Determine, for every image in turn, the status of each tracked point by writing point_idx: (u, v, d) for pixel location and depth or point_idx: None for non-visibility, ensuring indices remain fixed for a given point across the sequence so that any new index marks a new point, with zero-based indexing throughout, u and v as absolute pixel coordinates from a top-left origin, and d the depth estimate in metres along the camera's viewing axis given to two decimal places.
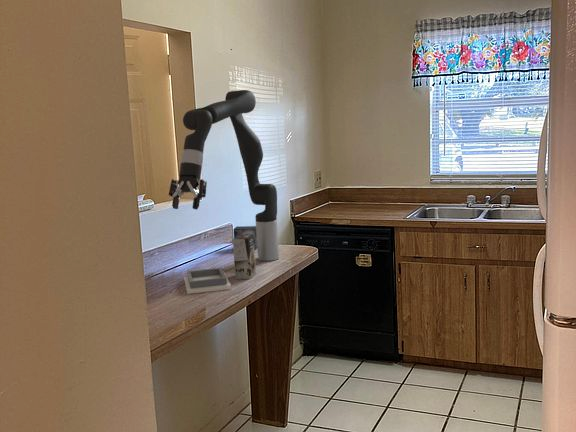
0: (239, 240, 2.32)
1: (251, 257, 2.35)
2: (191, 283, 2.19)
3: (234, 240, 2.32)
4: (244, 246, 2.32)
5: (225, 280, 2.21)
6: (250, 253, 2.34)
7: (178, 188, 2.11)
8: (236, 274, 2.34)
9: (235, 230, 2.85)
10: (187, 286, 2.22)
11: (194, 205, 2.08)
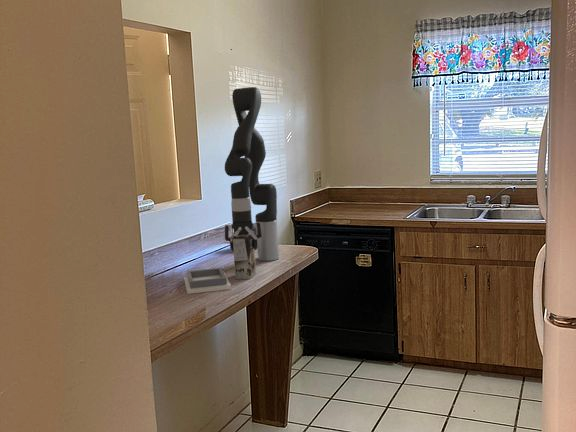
0: (239, 240, 2.32)
1: (251, 257, 2.35)
2: (191, 283, 2.19)
3: (234, 240, 2.32)
4: (244, 246, 2.32)
5: (225, 280, 2.21)
6: (250, 253, 2.34)
7: (236, 233, 2.33)
8: (236, 274, 2.34)
9: None
10: (187, 286, 2.22)
11: (255, 246, 2.36)
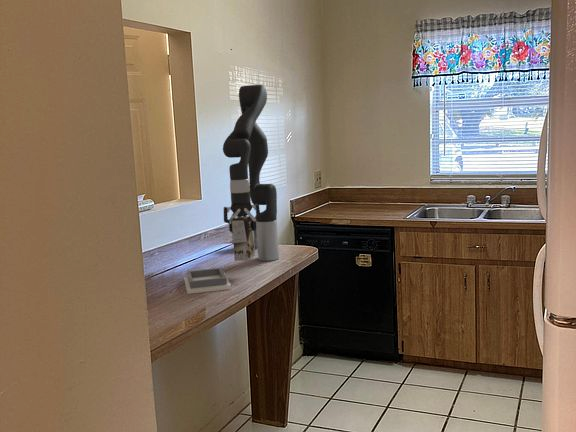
0: (238, 222, 2.30)
1: (250, 239, 2.34)
2: (191, 283, 2.19)
3: (233, 222, 2.31)
4: (243, 228, 2.30)
5: (225, 280, 2.21)
6: (249, 235, 2.33)
7: (235, 215, 2.32)
8: (235, 256, 2.33)
9: None
10: (187, 286, 2.22)
11: (254, 228, 2.35)
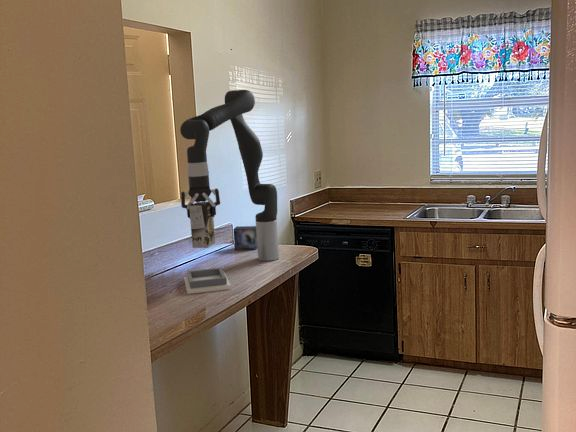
0: (196, 207, 2.19)
1: (209, 225, 2.23)
2: (191, 283, 2.19)
3: (190, 207, 2.20)
4: (201, 213, 2.19)
5: (225, 280, 2.21)
6: (208, 221, 2.22)
7: (193, 200, 2.21)
8: (193, 243, 2.22)
9: (235, 230, 2.85)
10: (187, 286, 2.22)
11: (214, 214, 2.24)
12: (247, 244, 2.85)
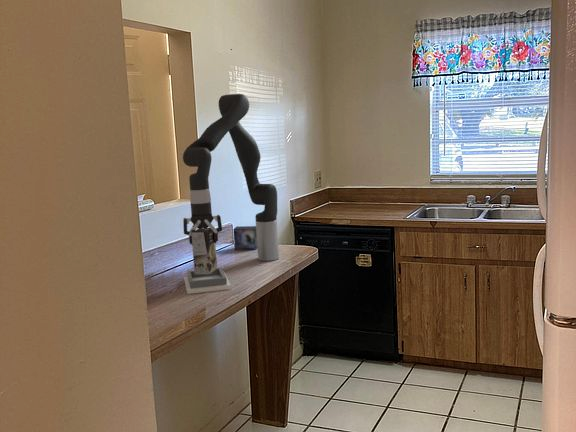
0: (198, 233, 2.21)
1: (211, 251, 2.25)
2: (191, 283, 2.19)
3: (193, 233, 2.22)
4: (203, 240, 2.21)
5: (225, 280, 2.21)
6: (210, 247, 2.23)
7: (195, 227, 2.23)
8: (195, 269, 2.24)
9: (235, 230, 2.85)
10: (187, 286, 2.22)
11: (216, 240, 2.26)
12: (247, 244, 2.85)
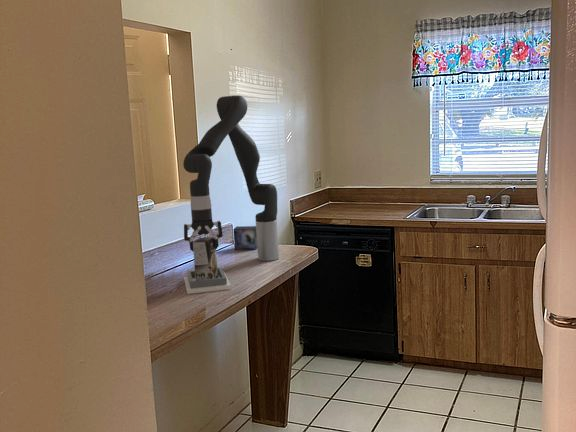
0: (199, 243, 2.22)
1: (212, 261, 2.25)
2: (191, 283, 2.19)
3: (194, 243, 2.22)
4: (204, 250, 2.22)
5: (225, 280, 2.21)
6: (211, 257, 2.24)
7: (195, 233, 2.23)
8: (196, 279, 2.24)
9: (235, 230, 2.85)
10: (187, 286, 2.22)
11: (216, 246, 2.26)
12: (247, 244, 2.85)
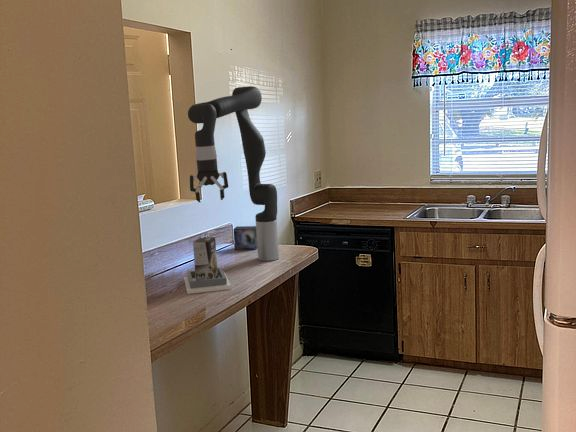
0: (199, 243, 2.22)
1: (213, 261, 2.25)
2: (191, 283, 2.19)
3: (194, 243, 2.22)
4: (204, 250, 2.22)
5: (225, 280, 2.21)
6: (211, 257, 2.24)
7: (201, 184, 2.24)
8: (197, 279, 2.24)
9: (235, 230, 2.85)
10: (187, 286, 2.22)
11: (222, 197, 2.27)
12: (247, 244, 2.85)
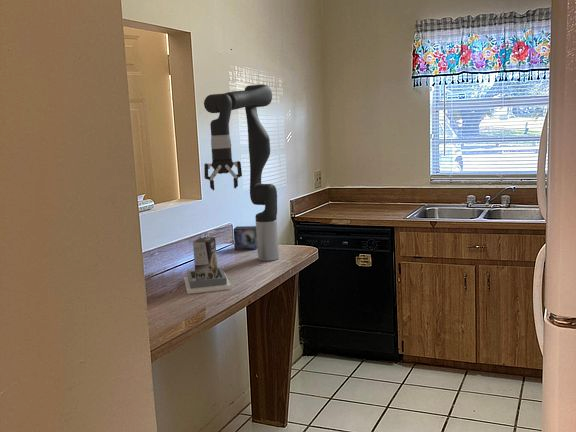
0: (199, 243, 2.22)
1: (213, 261, 2.25)
2: (191, 283, 2.19)
3: (194, 243, 2.22)
4: (204, 250, 2.22)
5: (225, 280, 2.21)
6: (211, 257, 2.24)
7: (216, 172, 2.29)
8: (197, 279, 2.24)
9: (235, 230, 2.85)
10: (187, 286, 2.22)
11: (236, 185, 2.32)
12: (247, 244, 2.85)
